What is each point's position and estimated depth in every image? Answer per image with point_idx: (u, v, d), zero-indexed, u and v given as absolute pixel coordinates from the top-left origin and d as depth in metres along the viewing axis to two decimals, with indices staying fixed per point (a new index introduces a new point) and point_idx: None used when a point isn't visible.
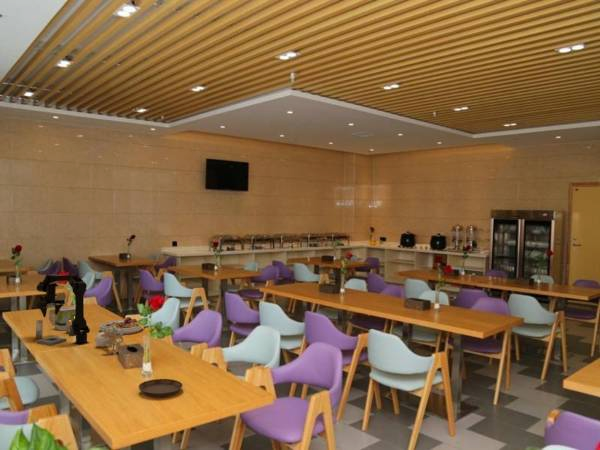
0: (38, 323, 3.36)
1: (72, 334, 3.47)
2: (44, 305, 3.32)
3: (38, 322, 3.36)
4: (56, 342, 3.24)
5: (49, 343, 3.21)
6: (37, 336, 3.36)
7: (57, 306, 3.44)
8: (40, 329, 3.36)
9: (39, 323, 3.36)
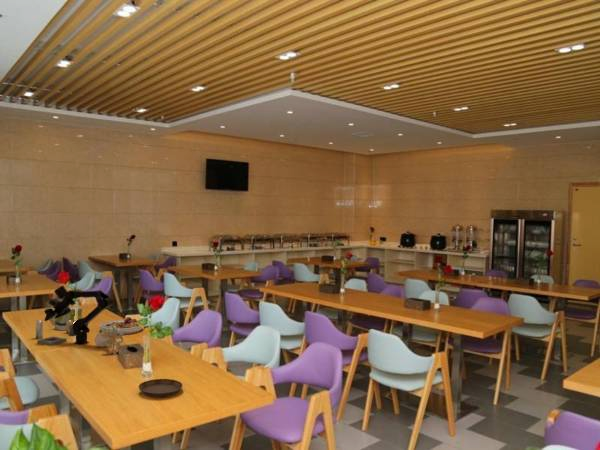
0: (38, 323, 3.36)
1: (72, 334, 3.47)
2: (52, 316, 3.26)
3: (38, 322, 3.36)
4: (56, 342, 3.24)
5: (49, 343, 3.21)
6: (37, 336, 3.36)
7: (61, 313, 3.39)
8: (40, 329, 3.36)
9: (39, 323, 3.36)
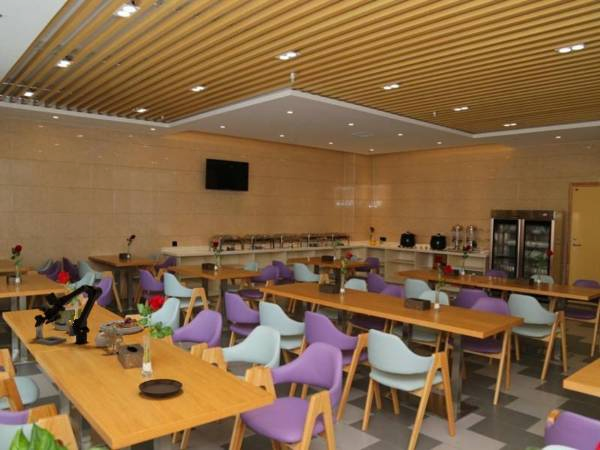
0: None
1: (72, 334, 3.47)
2: (42, 322, 3.28)
3: None
4: (56, 342, 3.24)
5: (49, 343, 3.21)
6: (37, 336, 3.36)
7: (51, 319, 3.41)
8: (40, 329, 3.36)
9: None
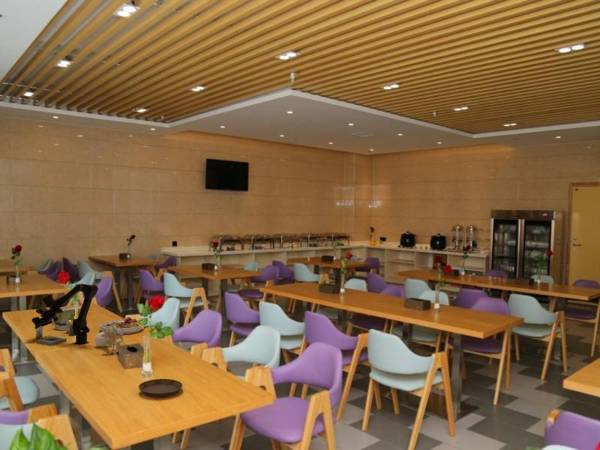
0: None
1: (72, 334, 3.47)
2: (39, 325, 3.29)
3: None
4: (56, 342, 3.24)
5: (49, 343, 3.21)
6: (37, 336, 3.36)
7: (46, 322, 3.39)
8: (40, 329, 3.36)
9: None
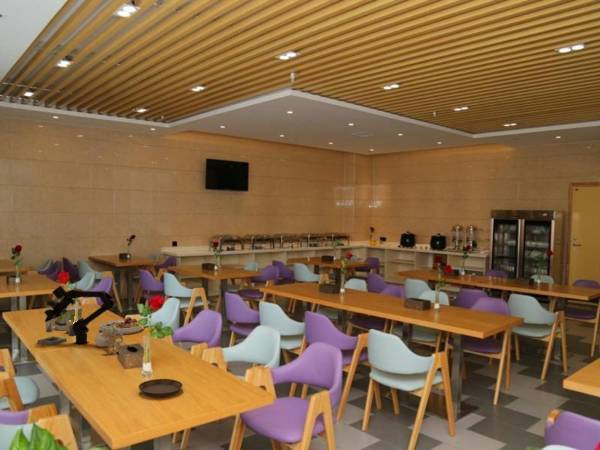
0: None
1: (72, 334, 3.47)
2: (53, 317, 3.22)
3: None
4: (56, 342, 3.24)
5: (49, 343, 3.21)
6: (48, 329, 3.28)
7: (56, 314, 3.32)
8: (51, 322, 3.29)
9: None
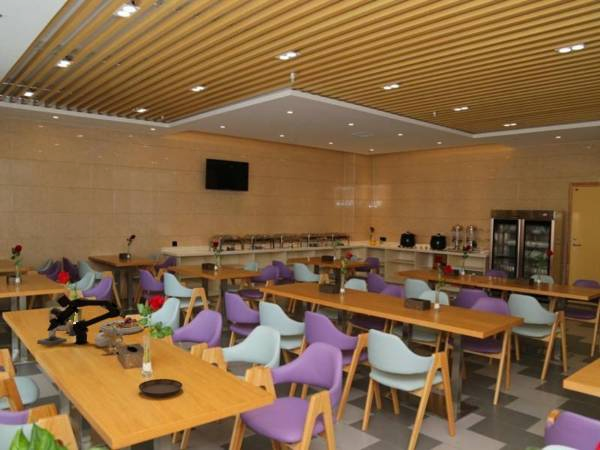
0: None
1: (72, 334, 3.47)
2: (58, 326, 3.21)
3: None
4: (56, 342, 3.24)
5: (49, 343, 3.21)
6: (51, 340, 3.27)
7: (60, 322, 3.32)
8: (54, 333, 3.28)
9: None
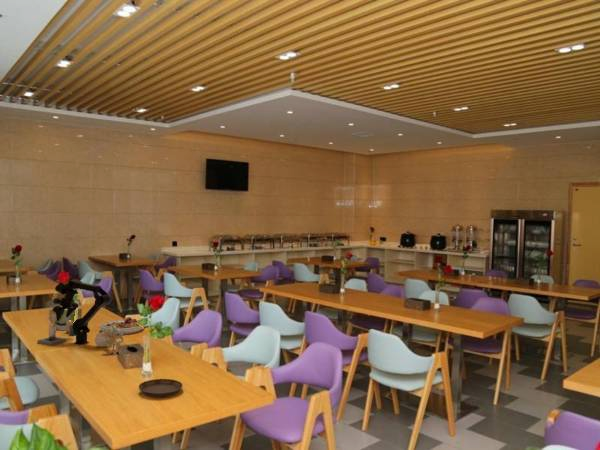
0: (52, 327, 3.27)
1: (72, 334, 3.47)
2: (62, 311, 3.25)
3: (52, 326, 3.27)
4: (56, 342, 3.24)
5: (49, 343, 3.21)
6: (51, 340, 3.27)
7: (70, 309, 3.38)
8: (54, 333, 3.28)
9: (53, 327, 3.27)
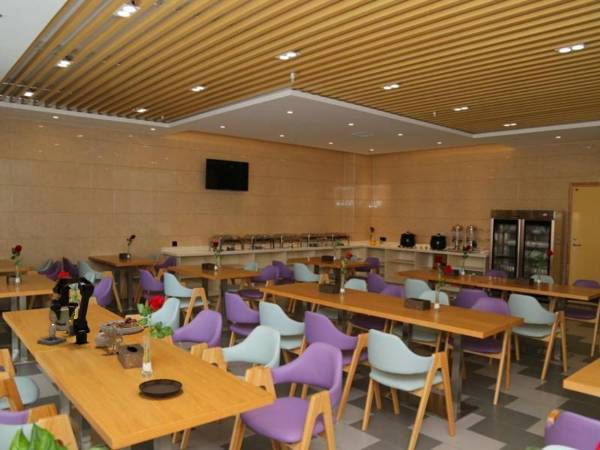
0: (52, 327, 3.27)
1: (72, 334, 3.47)
2: (58, 308, 3.32)
3: (52, 326, 3.27)
4: (56, 342, 3.24)
5: (49, 343, 3.21)
6: (51, 340, 3.27)
7: (71, 309, 3.45)
8: (54, 333, 3.28)
9: (53, 327, 3.27)
